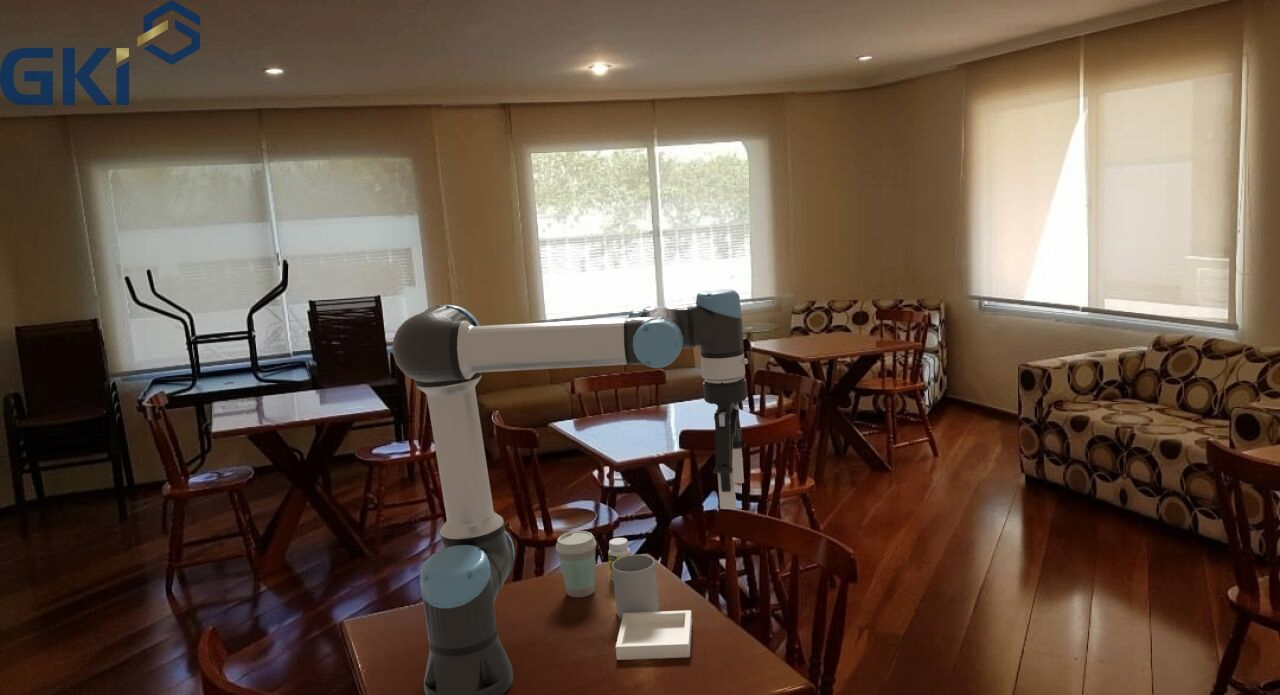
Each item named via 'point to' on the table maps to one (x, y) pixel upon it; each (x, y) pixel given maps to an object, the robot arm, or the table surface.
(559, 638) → the table surface
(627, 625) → the tray
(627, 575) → the cup
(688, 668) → the table surface
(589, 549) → the coffee cup
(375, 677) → the table surface
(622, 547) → the supplement bottle
